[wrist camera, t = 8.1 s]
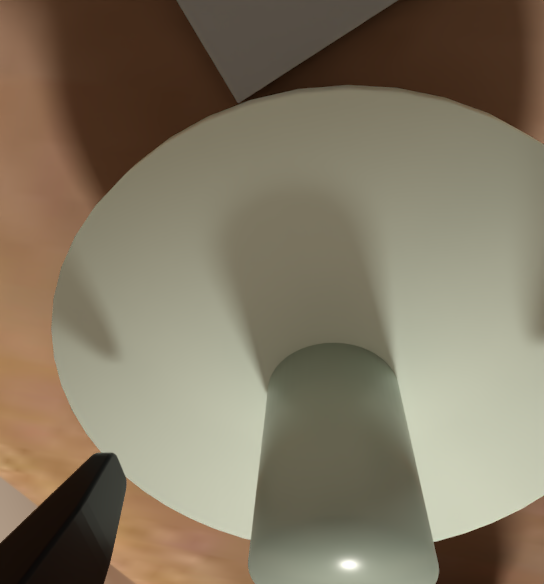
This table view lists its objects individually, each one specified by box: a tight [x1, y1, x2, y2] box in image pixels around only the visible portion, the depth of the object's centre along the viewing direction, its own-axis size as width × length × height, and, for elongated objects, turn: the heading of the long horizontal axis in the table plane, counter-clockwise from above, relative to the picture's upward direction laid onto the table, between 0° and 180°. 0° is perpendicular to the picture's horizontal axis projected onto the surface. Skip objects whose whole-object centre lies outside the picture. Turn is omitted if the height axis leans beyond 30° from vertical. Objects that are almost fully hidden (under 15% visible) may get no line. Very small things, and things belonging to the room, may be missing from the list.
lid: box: [51, 85, 544, 584], centre depth 10 cm, size 13×13×5 cm
